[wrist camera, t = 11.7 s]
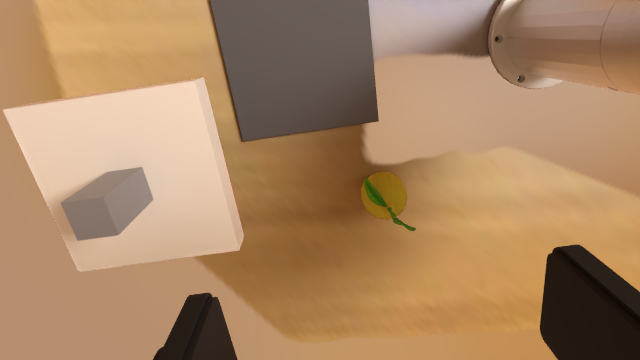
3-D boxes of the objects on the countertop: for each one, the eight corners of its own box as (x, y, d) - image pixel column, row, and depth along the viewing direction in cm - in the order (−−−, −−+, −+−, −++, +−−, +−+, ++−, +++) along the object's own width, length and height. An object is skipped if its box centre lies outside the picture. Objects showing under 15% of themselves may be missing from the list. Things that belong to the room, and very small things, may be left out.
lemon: (402, 203, 49) (423, 243, 40) (359, 208, 50) (370, 248, 40) (401, 157, 47) (422, 187, 38) (355, 162, 47) (366, 193, 38)
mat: (364, -36, 39) (364, -36, 38) (378, 120, 45) (378, 121, 45) (208, -10, 39) (207, -10, 39) (243, 140, 46) (242, 141, 45)
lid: (203, 77, 30) (164, 92, 22) (244, 236, 36) (224, 294, 28) (26, 104, 30) (-74, 128, 23) (93, 256, 36) (32, 318, 28)
